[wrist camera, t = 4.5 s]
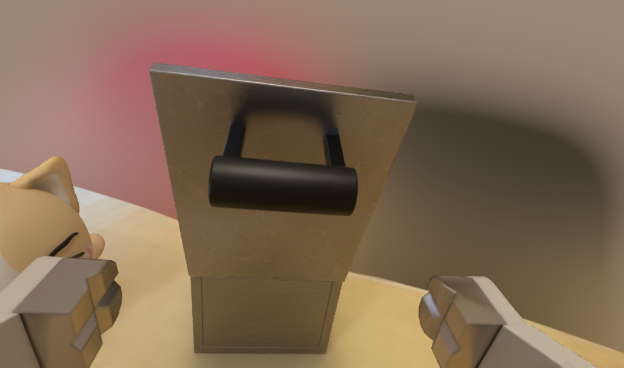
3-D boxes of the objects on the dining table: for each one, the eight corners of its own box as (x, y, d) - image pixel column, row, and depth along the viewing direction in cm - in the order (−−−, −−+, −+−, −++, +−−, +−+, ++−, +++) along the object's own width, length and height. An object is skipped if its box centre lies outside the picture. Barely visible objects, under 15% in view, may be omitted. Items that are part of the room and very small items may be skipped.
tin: (222, 246, 40) (222, 185, 36) (312, 250, 42) (321, 192, 38) (194, 352, 27) (190, 276, 23) (325, 353, 29) (342, 282, 25)
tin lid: (154, 61, 13) (95, 132, 9) (413, 94, 15) (458, 166, 11) (191, 266, 24) (170, 342, 20) (343, 273, 25) (352, 344, 21)
